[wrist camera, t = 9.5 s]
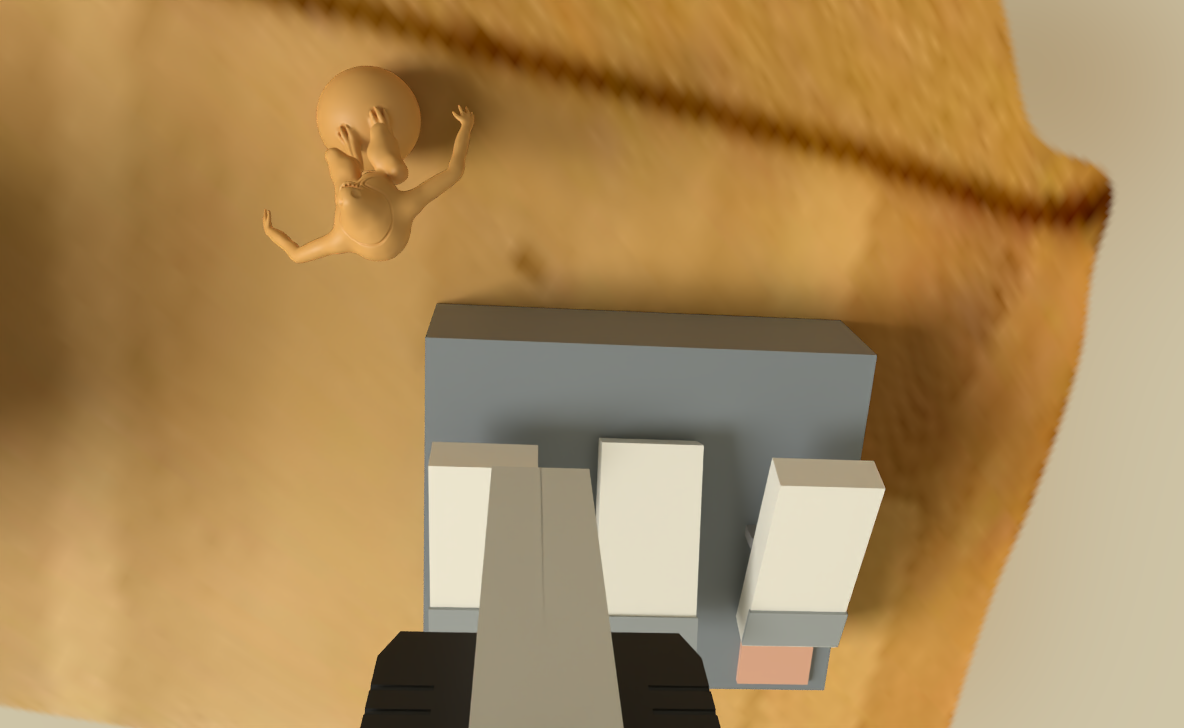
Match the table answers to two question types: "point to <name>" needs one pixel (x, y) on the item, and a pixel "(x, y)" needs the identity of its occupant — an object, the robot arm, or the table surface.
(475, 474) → the switch
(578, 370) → the switch unit
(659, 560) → the switch
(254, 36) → the table surface
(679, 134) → the table surface
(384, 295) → the table surface
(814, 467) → the switch
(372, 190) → the figurine
